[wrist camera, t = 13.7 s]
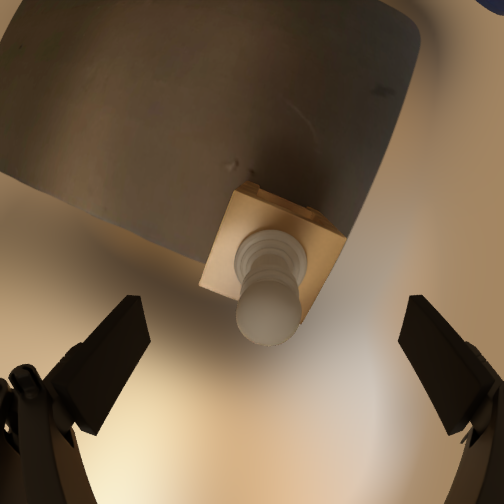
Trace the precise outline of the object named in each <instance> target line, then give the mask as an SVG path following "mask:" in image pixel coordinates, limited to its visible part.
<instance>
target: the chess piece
mask: <svg viewBox="0 0 504 504" xmlns="http://www.w3.org/2000/svg"><path fill="white" fill-rule="evenodd" d="M234 270H235V274H236V276H237V279H238V281H239V282H240V284H241V285H242V286H241V290H240V299H239V301H238V305H237V308H236V321H237V325H238V327H239V329H240V331H241V332H242V334H243V335H244V336H245V337H246V338H248V339H249V340H250V341H252V342H254V343H256V344H259V345H263V346H275V345H279V344H282V343H284V342H285V341H287V340H288V339H289V338H291V337H292V336H293V334H294V333H295V332H296V330H297V328H298V326H299V324H300V320H301V314H302V309H301V303H300V300H299V289H298V287H299V285H300V284H301V283H302V281H303V279H304V277H305V274H306V270H307V257H306V254H305V251H304V249H303V247H302V246H301V244H300V243H299V242H298V241H297V240H296V239H295V238H294V237H293V236H291V235H289V234H287V233H285V232H282V231H278V230H263V231H259V232H256V233H254V234H252V235H250V236H249V237H247V238H246V239H245V240H244V241H243V242H242V243H241V245H240V246H239V248H238V250H237V252H236V255H235V259H234Z"/></svg>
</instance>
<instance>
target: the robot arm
mask: <svg viewBox="0 0 504 504" xmlns="http://www.w3.org/2000/svg"><path fill="white" fill-rule="evenodd" d="M150 342H151V340H150V336H149V332H148V328H147V324H146V320H145V315H144V311H143V306H142V302H141V297H140V296H132V295H127V296H126V297H125V298H124V299H123V300H122V301H121V302H120V303H119V304H118V305H117V306H116V307H115V308H114V309H113V310H112V312H111V313H110V314H109V315H108V316H107V317H106V318H105V319H104V320H103V321H102V322H101V323H100V325H99V326H98V327H97V328H96V329H95V330H94V331H93V332H92V333H91V334H90V335H89V337H88V338H87V339H86V340H85V341H84V342H83V343H81V342H80V343H78V344H77V345H75V346H73V347H72V348H71V349H70V350H69V351H68V352H67V353H66V354H65V357H63V358H62V359H61V360H60V362H58V363H57V364H56V366H55V367H54V368H53V369H52V370H51V371H50V372H49V374H48V375H47V376H46V377H45V378H44V379H43V381H42V379H41V378H40V376H39V374H38V372H37V371H36V368H35V367H34V366H33V365H30V364H22V365H20V366H17V367H16V368H14V369H13V370H12V371H11V373H10V374H9V377H8V379H9V380H10V382H11V384H12V386H13V387H14V389H12V388H10V386H9V385H8V383H7V381H6V380H4V379H3V378H0V504H97V502H96V499H95V497H94V494H93V492H92V489H91V486H90V484H89V481H88V478H87V475H86V472H85V469H84V465H83V462H82V459H81V455H80V452H79V448H78V444H77V440H76V436H75V432H74V430H73V428H72V425H73V424H74V422H76V424H77V425H78V427H79V428H80V430H81V431H84V432H86V433H89V434H92V435H94V436H97V434H98V432H99V430H100V428H101V426H102V425H103V423H104V421H105V419H106V417H107V416H108V414H109V412H110V410H111V408H112V407H113V405H114V403H115V401H116V399H117V398H118V396H119V394H120V393H121V391H122V389H123V387H124V386H125V384H126V382H127V381H128V379H129V377H130V375H131V374H132V372H133V370H134V369H135V367H136V365H137V364H138V362H139V360H140V358H141V357H142V355H143V354H144V352H145V350H146V348H147V347H148V345H149V344H150ZM398 342H399V344H400V346H401V348H402V349H403V351H404V353H405V354H406V356H407V358H408V360H409V361H410V363H411V365H412V366H413V368H414V370H415V372H416V374H417V375H418V377H419V379H420V381H421V383H422V385H423V386H424V388H425V390H426V392H427V394H428V396H429V398H430V400H431V402H432V403H433V405H434V407H435V409H436V411H437V413H438V415H439V417H440V419H441V421H442V423H443V426H444V428H445V430H446V432H447V434H448V435H449V436H450V435H453V434H455V433H458V432H460V431H463V429H464V428H465V427H466V425H467V424H468V423H469V421H470V422H471V423H472V425H473V426H472V428H471V429H470V430H469V432H468V433H467V434H466V435H465V437H464V438H463V439H462V441H461V444H462V443H463V442H464V441H465V440H466V439H467V441H466V444H465V448H464V452H463V455H462V458H461V461H460V465H459V467H458V470H457V473H456V476H455V478H454V481H453V484H452V486H451V489H450V491H449V494H448V496H447V498H446V500H445V503H444V504H504V381H503V380H502V379H501V378H500V376H499V375H498V374H497V373H496V371H495V370H494V369H493V368H492V366H491V365H490V364H489V363H488V361H487V362H486V359H485V358H484V357H483V356H482V355H481V353H480V352H479V350H478V349H477V348H476V347H475V346H473V345H472V344H470V343H469V342H467V341H466V342H464V340H463V339H462V338H461V337H460V336H459V335H458V333H457V332H456V331H455V330H454V329H453V328H452V327H451V326H450V324H449V323H448V322H447V321H446V320H445V319H444V318H443V317H442V316H441V314H440V313H439V312H438V311H437V310H436V309H435V308H434V307H433V306H432V305H431V304H430V303H429V302H428V300H427V299H426V298H425V297H424V296H423V295H412V296H409V301H408V305H407V309H406V313H405V317H404V321H403V325H402V328H401V332H400V336H399V339H398ZM5 423H6V424H7V426H8V427H9V431H8V432H6V430H5V429H4V427H5Z"/></svg>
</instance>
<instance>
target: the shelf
mask: <svg viewBox="0 0 504 504" xmlns="http://www.w3.org/2000/svg"><path fill="white" fill-rule="evenodd" d="M259 187H260V185H257V184H255V183H252V182H250V181H246V182H244V183H243V184H242V185H241V186H239V187H238V188H237V189H235V190H234V192H233V194H232V197H231V199H230V202H229V204H228V207H227V210H226V212H225V215H224V217H223V220H222V222H221V225H220V228H219V230H218V233H217V236H216V238H215V241H214V244H213V246H212V249H211V252H210V254H209V257H208V260H207V262H206V265H205V268H204V271H203V273H202V276H201V279H200V282H199V286H201V287H204V288H206V289H208V290H211V291H213V292H216V293H218V294H221V295H224V296H226V297H229V298H231V299H234V300H236V301H239V299H240V290H241V286H242V285H241V284H240V282H239V281H238V279H237V276H236V274H235V270H234V259H235V255H236V252H237V250H238V248H239V246H240V245H241V243H242V242H243V241H244V240H245V239H246V238H247V237H249V236H250V235H252V234H254V233H256V232H259V231H263V230H278V231H282V232H285V233H287V234H289V235H291V236H293V237H294V238H295V239H296V240H297V241H298V242H299V243H300V244H301V246H302V247H303V249H304V251H305V254H306V257H307V270H306V274H305V277H304V279H303V281H302V283H301V284H300V285H299V287H298V289H299V300H300V303H301V309H302V314H301V320H300V324H302V322H303V320H304V319H305V317H306V315H307V313H308V312H309V310H310V308H311V306H312V305H313V303H314V301H315V299H316V297H317V296H318V294H319V292H320V290H321V288H322V286H323V284H324V283H325V281H326V279H327V277H328V275H329V273H330V271H331V270H332V268H333V266H334V264H335V262H336V260H337V258H338V256H339V254H340V252H341V250H342V248H343V246H344V244H345V242H346V240H347V238H346V237H345V236H344V235H343V234H342V233H341V232H340V231H339V230H338V229H337V228H336V227H335V226H334V225H333V224H332V223H331V222H330V221H329V220H328V219H327V218H326V217H324V216H323V215H322V214H321V213H320V212H319V211H318V210H315V209H313V208H311V207H309V206H307V207H306V208H304V207H302V206H300V205H298V204H295V203H293V202H291V201H288V200H286V199H284V198H282V197H279V196H277V195H274V194H272V193H270V192H267V191H265V190H262V189H260V188H259Z"/></svg>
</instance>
